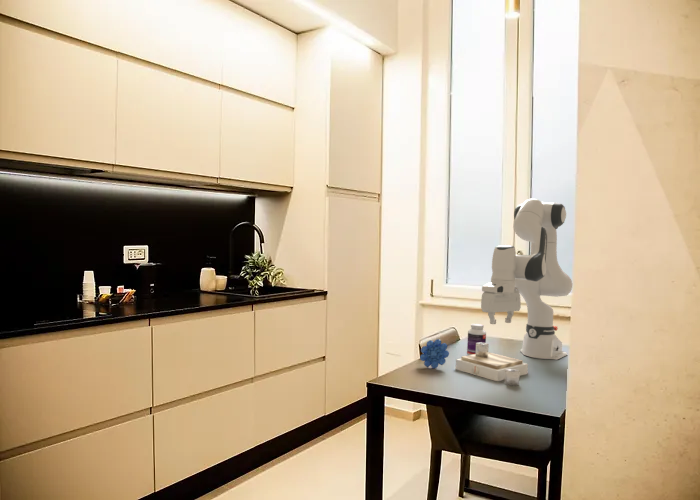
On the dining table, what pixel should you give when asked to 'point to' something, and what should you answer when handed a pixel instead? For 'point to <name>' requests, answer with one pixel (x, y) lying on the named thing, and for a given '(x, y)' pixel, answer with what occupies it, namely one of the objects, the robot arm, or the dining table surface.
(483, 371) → the base
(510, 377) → the block
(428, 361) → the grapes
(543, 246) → the robot arm
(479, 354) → the block
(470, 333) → the pill bottle
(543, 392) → the dining table surface
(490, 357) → the pan
